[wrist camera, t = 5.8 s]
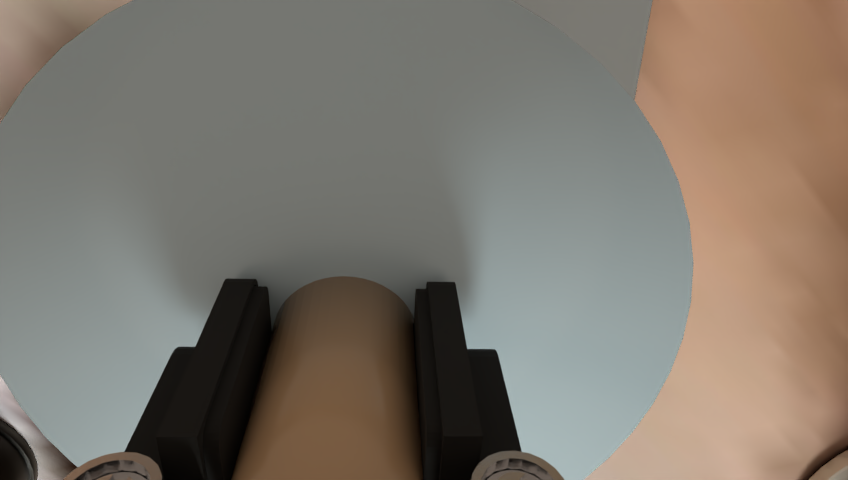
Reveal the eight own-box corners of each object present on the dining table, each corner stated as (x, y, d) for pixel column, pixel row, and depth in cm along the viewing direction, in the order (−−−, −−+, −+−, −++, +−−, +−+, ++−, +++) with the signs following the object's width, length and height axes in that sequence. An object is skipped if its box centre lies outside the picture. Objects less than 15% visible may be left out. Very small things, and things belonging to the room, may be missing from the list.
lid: (761, -30, 10) (1311, 63, 4) (609, 525, 16) (736, 878, 11) (-122, -67, 9) (-1072, -14, 3) (81, 535, 16) (-110, 925, 10)
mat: (685, -217, 22) (692, -220, 22) (612, 193, 30) (616, 198, 29) (230, -232, 21) (226, -236, 21) (274, 194, 29) (272, 200, 28)
